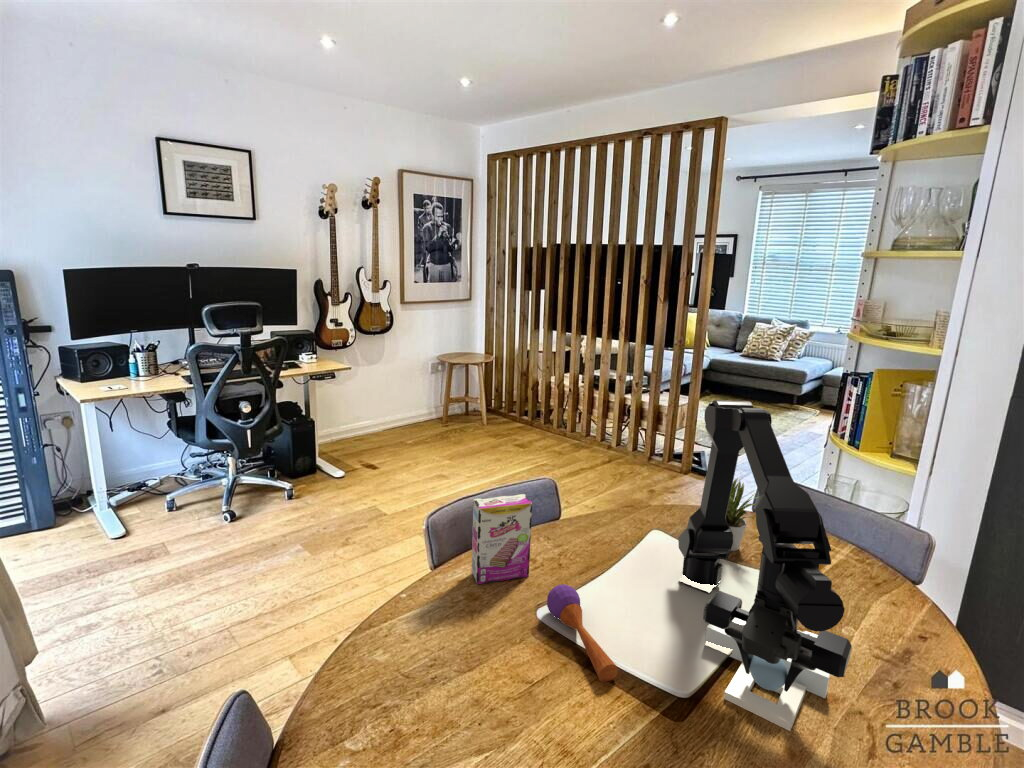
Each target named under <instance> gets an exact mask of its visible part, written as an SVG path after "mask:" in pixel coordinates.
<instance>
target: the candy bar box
mask: <svg viewBox="0 0 1024 768" xmlns="http://www.w3.org/2000/svg"><path fill="white" fill-rule="evenodd" d="M472 502H473V503H472V538H471V543H472V545H471V574H472V577H473V578H474V580H475V583H476V585H483V584H488V583H496V582H502V581H509V580H515V579H520V578H521V579H523V578H528V577H530V558H531V540H532V539H531V537H532V520H533V519H532V516H533V502H532V500H531V499H530V498H528V496H527V495H526V494H525V493H522V494H521V493H520V494H513V495H512V494H511V495H510V494H509V495H503V496H490V497H482V498H480V497H479V498H473V501H472Z"/></svg>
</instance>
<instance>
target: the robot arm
mask: <svg viewBox="0 0 1024 768" xmlns="http://www.w3.org/2000/svg"><path fill="white" fill-rule="evenodd" d="M770 412H771V411H769V410H768V409H765V408H762V407H754V405H753V404H752V402H751V401H750V400H748V401H747V400H721V399H720V400H717V399H714V400H713V401H712V402H709V403H708V405H707V406H706V407H705V409H704V422H705V425H704V426H705V430H706V432H707V434H708V436H709V438H710V440H711V447H710V450H709V451H710V452H709V458H708V461H707V462H708V463H707V468H706V474H705V478H704V480H705V481H704V486H703V488H704V489H703V490H702V494H703V495H702V497H701V501H700V506H699V508H698V509H697V510H696V511H695V512H694V513H692V515H690V517H689V518H688V522H687V526H686V528H685V529H684V530H683V531H682V532H681V534H679V536H678V549H679V551H680V552H681V555H682V556H683V562H682V563H683V566H682V573H681V574H683V575H685V576H686V577H687V578H688V579H690V580H691V581H694V582H697V583H700V584H710V585H713V584H714V585H717V584H718V582H719V581H720V580H721V581H722V572H723V564H722V563H721V560H725V561H726V560H728V559H729V556H730V553H731V552H732V551H731V548H732V545H733V533H732V530H731V528H730V526H729V524H728V522H727V520H726V514H727V509H728V504H729V499H730V494H731V489H732V484H733V482H734V480H735V479H734V478H735V475H736V474H735V473H736V471H737V470H736V469H737V464H738V458H739V455H740V452H741V450H742V449H744V452H745V455H746V458H747V461H748V464H749V467H750V470H751V473H752V476H753V478H754V483H755V485H756V487H757V493H758V496H759V498H757V499H758V500H757V501H756V503H755V504H756V505H755V508H754V512H755V524H756V529H757V531H758V532H757V533H758V535H759V536H758V538H757V539H758V541H759V542H760V543H761V544H762V548H761V557H760V564H759V565H760V566H759V571H758V581H757V587H756V593H755V595H754V601H753V604H752V606H751V608H749V611H748V610H746V609H743V608H742V607H743V600H742V598H740V597H737V596H736V595H735V596H734V595H732V594H730V593H726V592H724V591H721V590H717V591H716V592H714V594H713V595H712V596H711V597H710V599H708V601H707V602H706V603H705V605H704V609H703V615H702V616H703V617H702V619H703V621H704V622H705V623H707V624H708V625H709V624H711V625H714V626H716V627H718V628H721V629H724V628H726V629H725V633H726V634H727V635H728V636H731V637H732V638H733V639H734V640H735V641H736V643H737V645H738V647H739V650H740V653H741V657H742V660H743V664H744V668H745V671H746V673H747V674H749V673H750V663H751V660H752V658H753V655H755V656H757V657H759V658H761V659H764V660H765V661H767V662H768V663H771V664H777V663H778V662H779V661H780V659H783V660H786V661H787V659H788V658H790V659H792V660H791V666H790V669H789V672H788V675H787V678H786V681H785V687H784V691H786V692H787V691H788V690H789V688H790V687H791V685H792V684H793V682H794V681H795V679H796V677H797V676H798V675H799V674H800V673H801V672H802V671H803V670H804V669H809V670H816V668H817V669H819V670H821V671H824V672H826V673H829V674H830V676H831V675H832V676H833V677H836V678H844V677H845V674H846V670H847V667H848V665H849V661H850V658H851V653H852V648H853V647H852V643H851V642H850V640H849V639H848V638H846V637H843V636H841V635H838V634H835V633H833V632H830V631H828V630H830V629H833V628H834V627H836V626H837V625H838V624H839V623H840V622H841V621H842V619H843V617H844V613H845V606H844V602H843V599H842V597H841V596H840V595H839V594H838V593H837V592H836V591H835V590H834V589H833V588H832V586H833V581H832V580H831V579H830V578H829V577H828V576H827V575H825V574H824V573H823V572H821V570H820V566H821V565H823V566H825V565H826V566H830V565H831V564H832V558H831V555H830V552H831V551H832V547H831V544H830V541H829V537H828V535H827V532H826V531H827V530H826V529H825V525H824V520H823V517H822V515H821V513H820V512H819V509H818V508H817V507H816V505H815V503H814V500H813V499H812V497H811V496H810V494H809V493H808V492H807V491H805V490H804V489H803V488H802V487H800V486H799V485H797V483H796V482H794V479H793V477H792V475H791V471H790V470H789V468H788V463H787V462H786V459H785V457H784V454H783V451H782V450H781V446H780V445H779V442H778V440H777V436H776V434H775V432H774V429H773V426H772V414H771V413H770ZM796 545H813V547H814V548H804V547H803V548H802V547H801V548H799V547H798V546H796ZM799 623H800V624H801V625H802V627H804V628H805V629H807V630H809V631H801V630H798V625H799ZM810 631H811V632H810ZM812 631H813V632H818V634H816V633H813V632H812Z"/></svg>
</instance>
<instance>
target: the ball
mask: <svg viewBox="0 0 1024 768" xmlns="http://www.w3.org/2000/svg"><path fill="white" fill-rule="evenodd" d="M750 672H751V675H752V678H753V679H754V681H755V682H756V684H757V685H758V686H759V687H761V688H763V689H764V690H767V691H773V690H777V689H780V688H781V687H782V686H783V685H784V684H785V681H786V678H787V669H786V666H785V664H784V663H783V661H782V660H781V659H780V661H779V662H778V663H777V664H771V663H768V662H767V661H765V660H764V659H761V658H759V657H757V656H754V657H753V658H752V660H751V663H750Z"/></svg>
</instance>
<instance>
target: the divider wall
mask: <svg viewBox="0 0 1024 768" xmlns="http://www.w3.org/2000/svg"><path fill="white" fill-rule="evenodd" d="M705 633H706V634H705V641H708V642H711V643H714V644H716V645H720V646H722V647H726V648H730V649H733V652H732V654H731V655H730V656H729V657H730V658H732V659H734V660H738V661H739V662H741V663H742V662H743V660H742V657H741V653H740V650H739V647H738V645H737V643H736V641H735V640H734V639H733V638H732V637H731V636H728V635H727V634H726V633H725V630H724V629H721V628H718V627H716V626H714V625H711V624H709V623H708V625H707V626H706V632H705ZM754 656H755V655H753V657H754ZM781 660H782V661H783V663H784V664H785V666H786V669H787V675H788V672H789V669H790V666H791V660H792V659H790V658H788V659H787V661H786V660H783V659H781ZM830 677H831V674H829V673H826V672H824V671H821V670H819V669H817V668H816V670H809V669H804V670H803V671H802V672H801V673H800V674H799V675H798V676H797V677H796V679H795V681H794V682H796V683H799V684H801V685H803V686H806V691H807V692H809V693H812V694H814V695H816V696H818V697H820V698H823V699H826V697H827V695H828V689H829V683H830Z"/></svg>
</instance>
